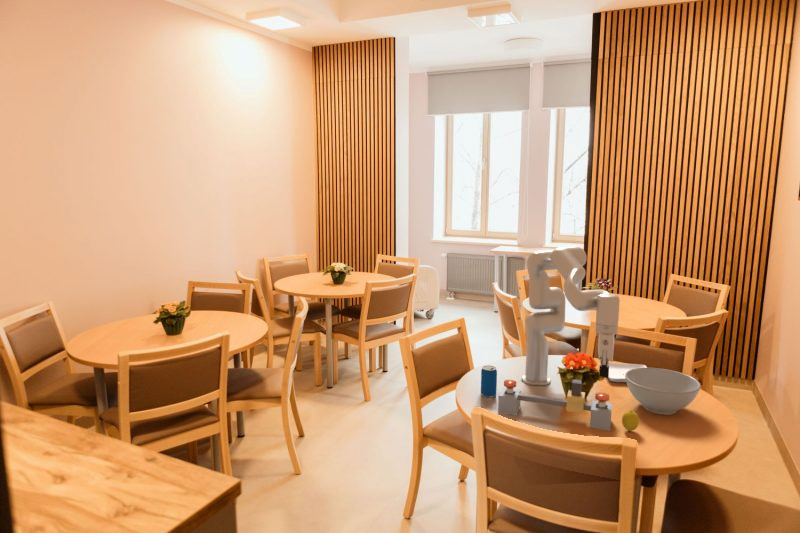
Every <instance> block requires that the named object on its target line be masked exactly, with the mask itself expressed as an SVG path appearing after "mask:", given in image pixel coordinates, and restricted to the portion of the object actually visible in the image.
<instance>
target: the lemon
mask: <svg viewBox="0 0 800 533" xmlns="http://www.w3.org/2000/svg"><path fill="white" fill-rule="evenodd" d="M621 418H622V420H621V422H622V426H623V428H624V429H626V430H627V431H628V432H631V431H632V432H633V431H634V430H636V429H637V428H638V427H639V422H640V420H639V416H638V414H637V413H636V412H635V411H633V410H632V409H630V410H627V411H625V412H624V413H623V415H622V417H621Z"/></svg>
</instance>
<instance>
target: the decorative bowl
mask: <svg viewBox="0 0 800 533" xmlns="http://www.w3.org/2000/svg"><path fill="white" fill-rule="evenodd" d="M625 379H626V382H627V383H626V385H627V387H628V390H629V392H630V394H631V395H632V396H633V397H634V398H635V400H636V401H638V402H639V404H641V405H642V407H643V408H644V409H645V410H647V411H648V412H650V413H653V414H658V415H665V416H667V415H668V416H669V415H675V414H676V413H677V411H680V410H683V409H685V408H687V407H688V406H689V405H690V404H691V403H692V402H694V400H695V399H696V397H698V395H699V392H700V390H701V382H699V381H698V380H697V379H696V378H694V377H692V376H691V375H688V374H686V373H683V372H680V371H675V370H671V369H666V368H657V367H647V368H636V369H632V370H629V371H628V372H626V374H625Z"/></svg>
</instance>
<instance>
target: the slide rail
mask: <svg viewBox="0 0 800 533" xmlns="http://www.w3.org/2000/svg"><path fill="white" fill-rule="evenodd" d="M506 392H507V387H505V386H503V387H502V389H501V391H500V393H499V394H498V403H497V407H498V408H497V413H498V414H499V413H500V414H505V415H511V416H517V414H518V413H519V410H520V408H521V401H522V402H529V403H535V404H542V405H549V406H556V407H562V408H566V407H567V399H563V398H562V399H561V398H556V397H550V396H544V395H543V396H542V395H538V394H537V395H536V394H530V393H525V392H523V393H522V389H518V388H513V395H509V394H506ZM591 401H592V402H591V403H590V402H585V403H584V410H583V411H587V412H590V416H589V417H590V418H589V420H590V422H589V429H596V430H601V431H609V432H611V424H612V412H613V403H611V402H608V401H606V405H605V409H601V408H598V400H593V399H592V400H591Z"/></svg>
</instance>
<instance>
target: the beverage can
mask: <svg viewBox="0 0 800 533" xmlns="http://www.w3.org/2000/svg"><path fill="white" fill-rule="evenodd" d="M497 370H498V369H497V368H496V366H493V365H484V366H482V367H481V371H480V372H481V374H480V394H481V395H482V396H483V397H485V398H493V397H495V396H497V387H498V386H497V385H498V384H497V382H498V371H497Z"/></svg>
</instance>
